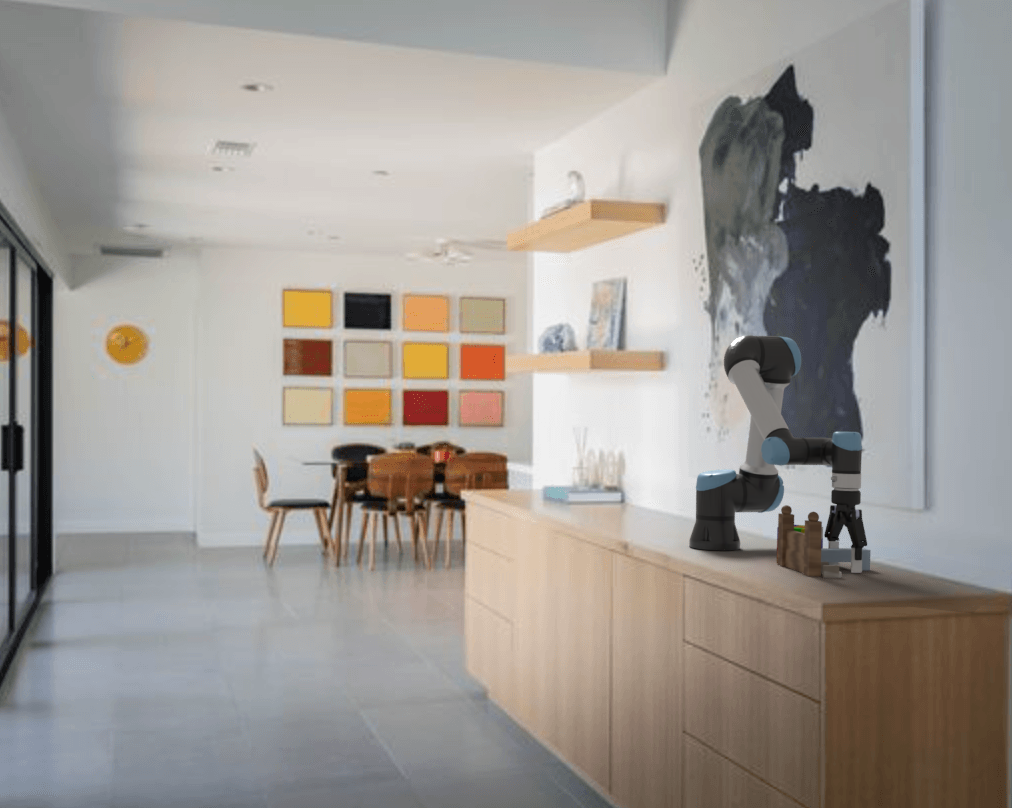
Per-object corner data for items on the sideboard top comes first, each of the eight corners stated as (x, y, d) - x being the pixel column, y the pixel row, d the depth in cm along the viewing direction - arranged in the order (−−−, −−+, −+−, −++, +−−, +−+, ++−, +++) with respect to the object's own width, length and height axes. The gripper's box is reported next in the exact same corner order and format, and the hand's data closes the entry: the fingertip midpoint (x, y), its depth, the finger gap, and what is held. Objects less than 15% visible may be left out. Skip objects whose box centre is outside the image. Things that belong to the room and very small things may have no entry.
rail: (807, 568, 312) (808, 548, 312) (863, 568, 315) (864, 548, 315) (813, 570, 308) (814, 550, 308) (870, 570, 311) (870, 550, 311)
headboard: (777, 564, 318) (778, 504, 318) (804, 564, 319) (805, 504, 319) (812, 577, 296) (813, 513, 296) (841, 577, 297) (843, 513, 297)
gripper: (813, 485, 323) (811, 562, 323) (854, 493, 299) (852, 575, 299) (838, 486, 325) (836, 562, 325) (881, 493, 300) (880, 575, 300)
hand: (844, 568), depth 312 cm, fingers open, 13 cm apart
